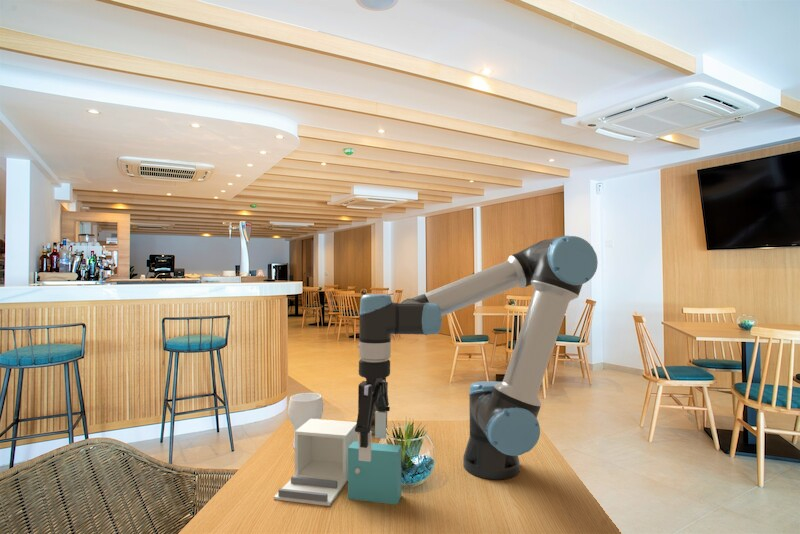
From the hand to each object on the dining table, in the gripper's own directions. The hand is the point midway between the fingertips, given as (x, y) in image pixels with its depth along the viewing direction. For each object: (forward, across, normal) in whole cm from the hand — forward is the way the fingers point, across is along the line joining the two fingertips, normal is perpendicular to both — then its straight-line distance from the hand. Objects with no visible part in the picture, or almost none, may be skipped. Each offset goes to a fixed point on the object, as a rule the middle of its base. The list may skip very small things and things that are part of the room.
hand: (373, 448), depth 102 cm
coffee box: (+12, -41, -11) cm, 44 cm away
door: (+12, 0, +1) cm, 12 cm away
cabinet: (+12, -5, -15) cm, 20 cm away
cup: (+12, -25, -28) cm, 40 cm away
